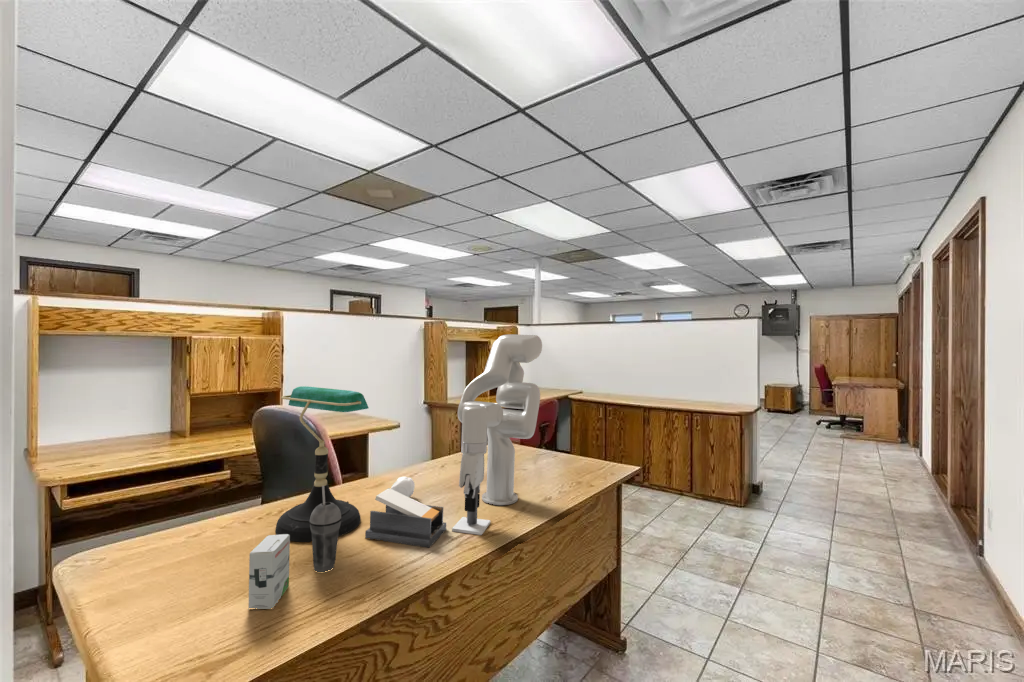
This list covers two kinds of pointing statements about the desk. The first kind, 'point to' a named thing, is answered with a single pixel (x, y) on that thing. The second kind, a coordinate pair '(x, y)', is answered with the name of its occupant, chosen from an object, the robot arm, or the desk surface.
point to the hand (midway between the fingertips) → (472, 508)
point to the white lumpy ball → (404, 486)
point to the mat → (471, 526)
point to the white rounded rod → (473, 515)
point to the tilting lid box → (405, 527)
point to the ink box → (269, 571)
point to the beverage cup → (325, 534)
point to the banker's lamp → (320, 463)
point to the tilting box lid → (406, 504)
